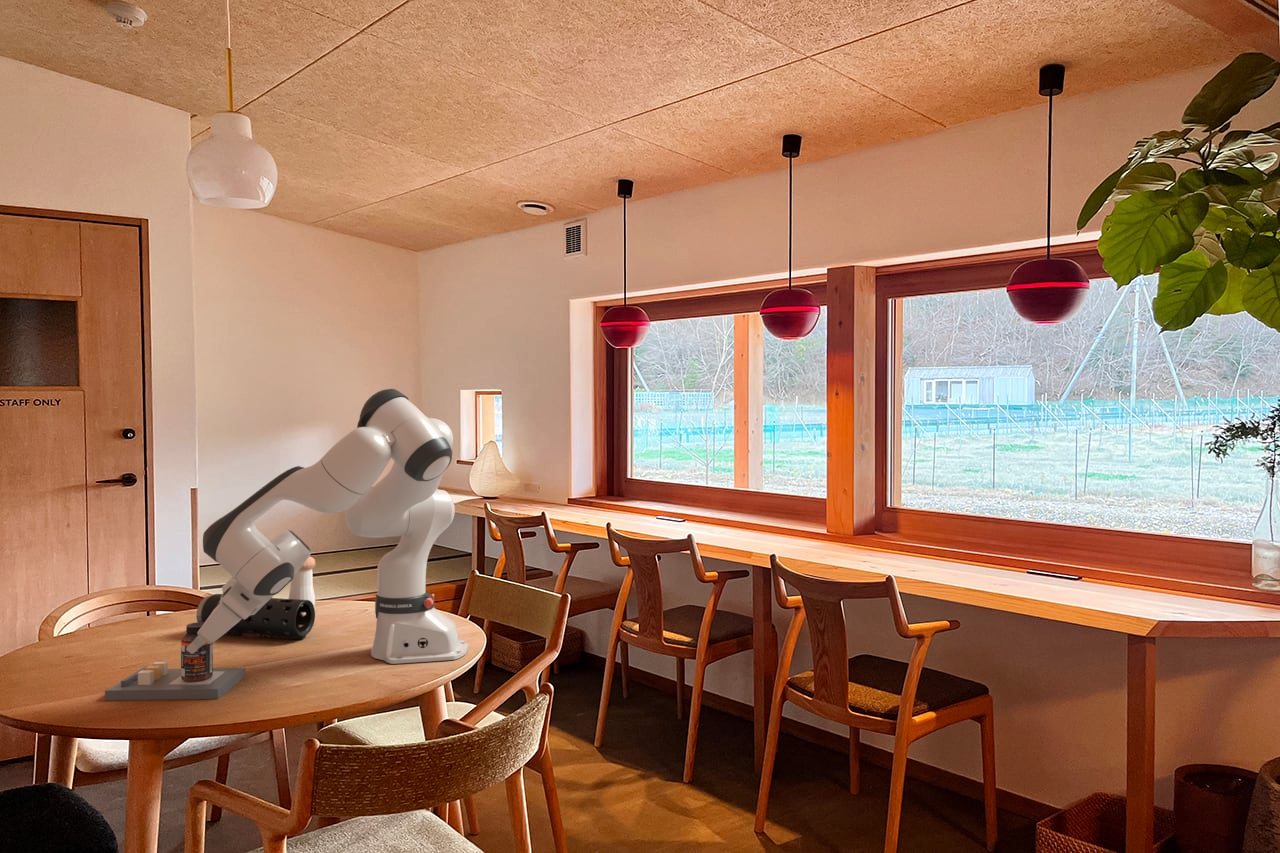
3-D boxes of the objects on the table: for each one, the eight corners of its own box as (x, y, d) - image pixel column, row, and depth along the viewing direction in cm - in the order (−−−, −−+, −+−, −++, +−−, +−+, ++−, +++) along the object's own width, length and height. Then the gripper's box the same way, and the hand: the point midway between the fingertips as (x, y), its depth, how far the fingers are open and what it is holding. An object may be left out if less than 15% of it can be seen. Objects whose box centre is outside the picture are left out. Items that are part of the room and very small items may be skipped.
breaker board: (245, 676, 191) (244, 656, 191) (217, 698, 178) (217, 676, 177) (140, 678, 190) (140, 657, 190) (105, 700, 176) (104, 678, 176)
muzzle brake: (294, 645, 216) (294, 603, 216) (194, 638, 222) (193, 597, 222) (316, 635, 226) (315, 595, 225) (219, 629, 231) (219, 589, 231)
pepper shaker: (314, 627, 233) (314, 555, 232) (285, 629, 231) (284, 556, 230) (318, 620, 240) (317, 550, 239) (289, 622, 238) (289, 551, 237)
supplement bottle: (180, 684, 179) (180, 629, 179) (181, 676, 185) (180, 622, 184) (213, 680, 182) (212, 626, 182) (213, 672, 187) (212, 619, 187)
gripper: (239, 575, 195) (191, 622, 193) (225, 595, 176) (171, 647, 173) (261, 594, 197) (213, 641, 194) (249, 616, 177) (196, 668, 175)
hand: (193, 644), depth 184 cm, fingers open, 8 cm apart
